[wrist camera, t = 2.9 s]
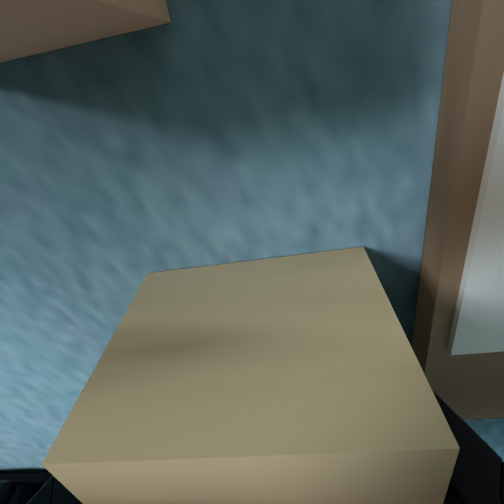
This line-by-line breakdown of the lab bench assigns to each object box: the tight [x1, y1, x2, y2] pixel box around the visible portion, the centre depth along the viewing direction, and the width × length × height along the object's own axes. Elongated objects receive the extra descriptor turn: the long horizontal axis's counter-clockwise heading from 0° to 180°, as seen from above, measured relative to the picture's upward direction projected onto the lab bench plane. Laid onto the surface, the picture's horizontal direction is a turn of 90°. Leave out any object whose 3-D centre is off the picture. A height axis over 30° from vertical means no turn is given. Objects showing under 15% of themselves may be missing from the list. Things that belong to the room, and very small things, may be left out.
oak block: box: [42, 247, 460, 504], centre depth 8 cm, size 6×6×5 cm
